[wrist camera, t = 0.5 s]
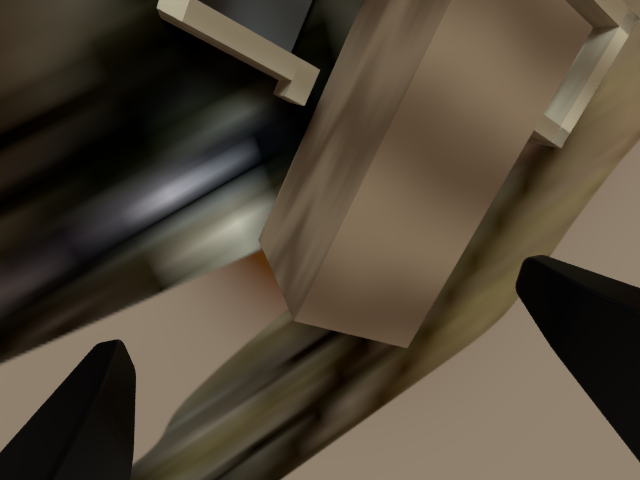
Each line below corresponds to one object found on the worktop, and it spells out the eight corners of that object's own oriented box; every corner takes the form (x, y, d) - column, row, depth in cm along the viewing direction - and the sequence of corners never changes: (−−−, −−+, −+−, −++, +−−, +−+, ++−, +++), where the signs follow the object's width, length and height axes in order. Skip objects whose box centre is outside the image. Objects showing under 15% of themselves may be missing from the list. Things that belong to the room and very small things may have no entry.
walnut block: (340, 265, 26) (407, 348, 18) (258, 238, 23) (294, 321, 16) (451, 44, 23) (593, 27, 15) (369, -15, 20) (487, -75, 12)
